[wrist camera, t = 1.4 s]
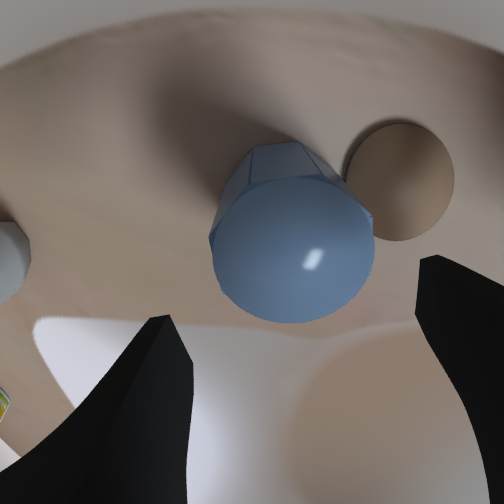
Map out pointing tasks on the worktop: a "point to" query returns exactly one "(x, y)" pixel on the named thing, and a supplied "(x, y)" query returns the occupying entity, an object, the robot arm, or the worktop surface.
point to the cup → (290, 236)
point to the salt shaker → (12, 259)
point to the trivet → (402, 180)
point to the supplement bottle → (3, 403)
